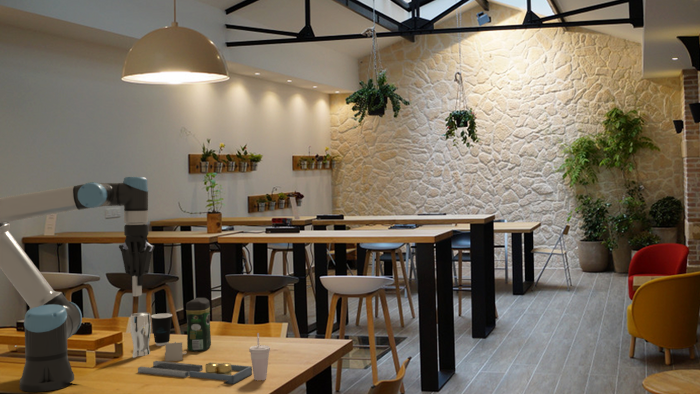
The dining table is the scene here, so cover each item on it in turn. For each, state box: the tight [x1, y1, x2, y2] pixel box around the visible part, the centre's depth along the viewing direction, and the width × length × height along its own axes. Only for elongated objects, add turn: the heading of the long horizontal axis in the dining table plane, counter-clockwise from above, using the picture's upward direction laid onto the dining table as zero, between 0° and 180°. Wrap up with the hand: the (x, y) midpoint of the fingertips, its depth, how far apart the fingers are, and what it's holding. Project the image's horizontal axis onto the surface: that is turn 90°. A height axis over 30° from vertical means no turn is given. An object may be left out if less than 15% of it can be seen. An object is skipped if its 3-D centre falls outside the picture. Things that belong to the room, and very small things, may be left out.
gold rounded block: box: [204, 362, 219, 374], centre depth 205 cm, size 4×4×4 cm
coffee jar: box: [185, 297, 212, 352], centre depth 245 cm, size 10×8×19 cm
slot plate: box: [137, 360, 203, 379], centre depth 211 cm, size 9×18×2 cm, turn 68°
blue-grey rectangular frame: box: [189, 363, 253, 385], centre depth 207 cm, size 11×16×2 cm
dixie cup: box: [150, 312, 173, 347], centre depth 253 cm, size 8×8×11 cm
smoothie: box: [248, 332, 271, 381], centre depth 204 cm, size 6×6×14 cm
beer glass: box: [129, 312, 152, 359], centre depth 235 cm, size 7×7×15 cm
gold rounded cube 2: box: [218, 362, 232, 375], centre depth 205 cm, size 4×4×4 cm
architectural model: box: [164, 341, 187, 362], centre depth 226 cm, size 3×7×7 cm, turn 104°
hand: (137, 295), depth 218 cm, fingers closed
